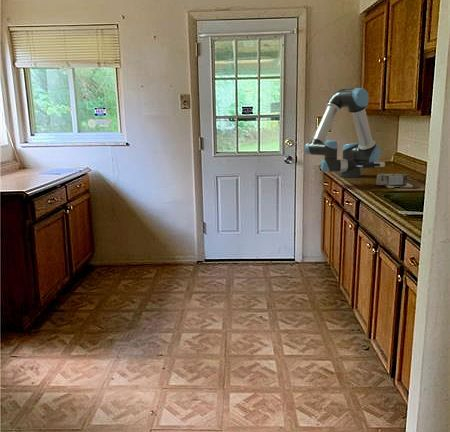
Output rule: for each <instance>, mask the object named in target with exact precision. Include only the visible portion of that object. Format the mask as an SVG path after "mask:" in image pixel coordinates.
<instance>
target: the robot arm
mask: <svg viewBox="0 0 450 432" xmlns="http://www.w3.org/2000/svg"><path fill="white" fill-rule="evenodd" d="M369 100H370V96H369V93H368V91H367V90H366V89H365V88H363V87H353V88H352V87H351V88H340V89H338V90H337V91H335V92H334V93H333V94H332V95H331V96H330V98H329V99H328V101H327V103H326V105H325V108H326V109H325V111H324V112H323V115H322V117H321V119H320V121H319V123H318V126H317V128H316V131H315V133H314V134H313V137H312V139H311V141H310V142H307V143H305V145H304V152H305V153H306V154H307V155H312V156H313V155H314V156H315V155H316V156H324V159H322V160H321V161H320V169H321V172H323V173H336V172H337V173H339V177H341V178H360V177H362V169H368V168H369V169H370V168H373V169H375V168H384V167H386V162H385V161H379V160H380V158H381V155H382V147H381V146H379V145H377V143H376V140H373V135H372V134H371V128H370V124H369V121H368V120H369V119H368V115H367V112H366V109H367V108H368V104H369ZM343 108H347V111H348V112H349V113H350V114H351V116H352V120H353V125H354V127H355V132H356V135H357V139H358V142H353V143H347V144H343V146H342V158H341V159H338V148H339V147H338V141H337V140H334V139H332V140H331V139H328V140H326V138H327V136H328V134H329V131H331V130H330V129H331V127H332V125H333V123H334V121H335V119H336V116H337V115H338V113H340V111H341V109H343ZM378 161H379V162H378Z"/></svg>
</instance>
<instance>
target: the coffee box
mask: <svg viewBox="0 0 450 432" xmlns="http://www.w3.org/2000/svg"><path fill="white" fill-rule="evenodd" d="M407 183H408V174H402V173H399V174H398V173H385V172H384V173H382V172H381V173H378V174H377V175H376V181H375V184H376V185H378V186H384V185H388V186H402V187H401V188H404V187H403V186H405V185H407Z"/></svg>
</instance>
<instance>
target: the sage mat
mask: <svg viewBox="0 0 450 432" xmlns="http://www.w3.org/2000/svg"><path fill="white" fill-rule="evenodd" d="M383 186H384V187H386V188H389V189H392V188H393V189H394V187H400V188H413V187H414V186H413V184H410V183H408V182H407V185H405V186H403V187H402V186H388V185H383Z"/></svg>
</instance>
